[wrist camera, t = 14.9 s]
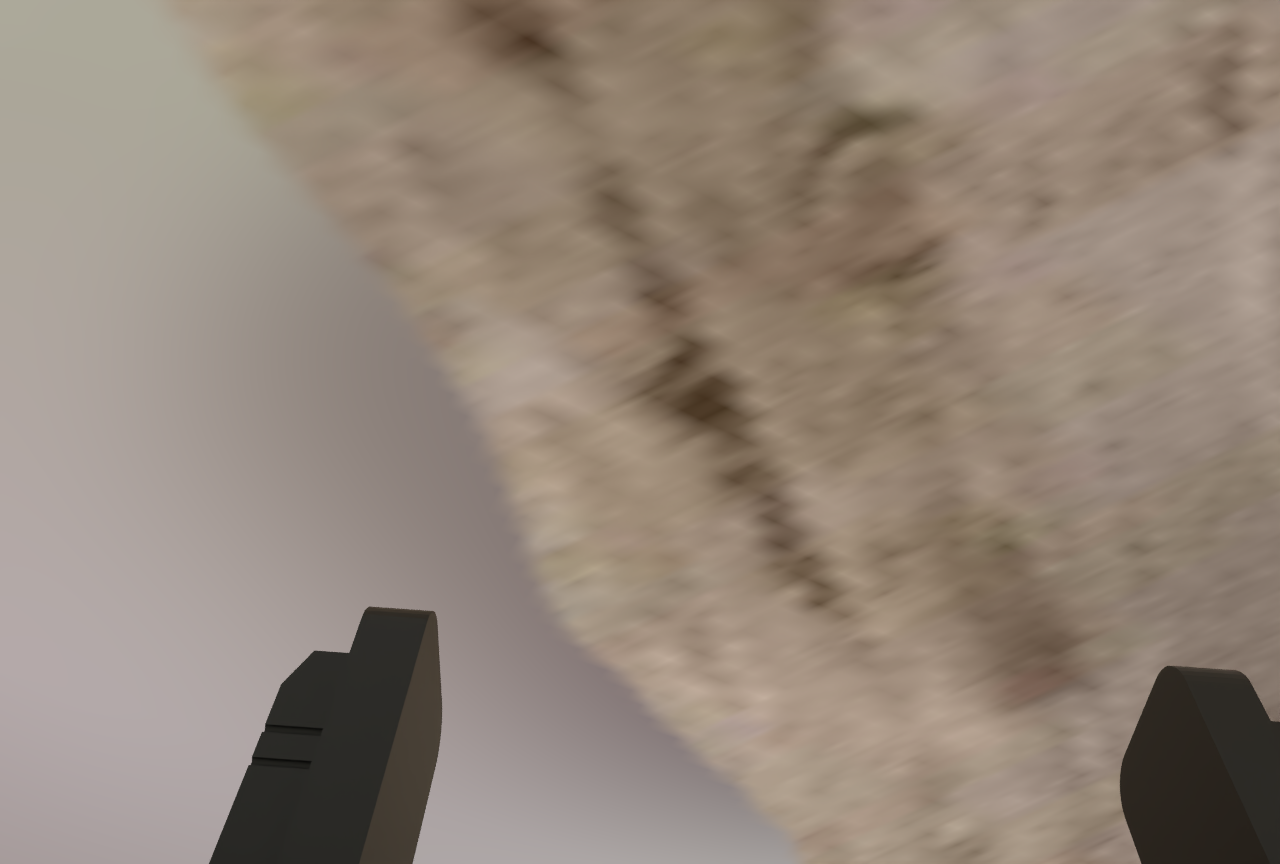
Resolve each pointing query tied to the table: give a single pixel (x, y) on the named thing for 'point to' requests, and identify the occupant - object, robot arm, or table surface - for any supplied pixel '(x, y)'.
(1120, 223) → the table surface
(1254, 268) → the table surface
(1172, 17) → the table surface
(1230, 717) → the robot arm
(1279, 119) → the table surface
